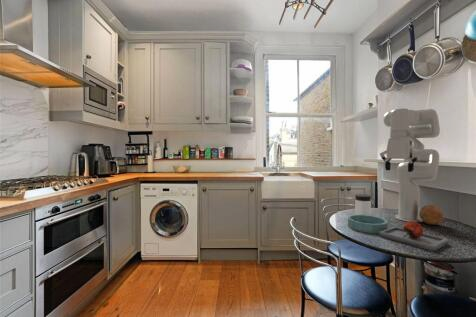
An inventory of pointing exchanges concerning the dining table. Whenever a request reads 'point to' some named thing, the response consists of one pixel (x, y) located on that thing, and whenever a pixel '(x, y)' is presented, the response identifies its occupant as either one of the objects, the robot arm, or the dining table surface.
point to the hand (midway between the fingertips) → (398, 170)
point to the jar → (362, 204)
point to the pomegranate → (413, 229)
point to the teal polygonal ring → (367, 223)
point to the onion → (431, 214)
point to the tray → (414, 239)
